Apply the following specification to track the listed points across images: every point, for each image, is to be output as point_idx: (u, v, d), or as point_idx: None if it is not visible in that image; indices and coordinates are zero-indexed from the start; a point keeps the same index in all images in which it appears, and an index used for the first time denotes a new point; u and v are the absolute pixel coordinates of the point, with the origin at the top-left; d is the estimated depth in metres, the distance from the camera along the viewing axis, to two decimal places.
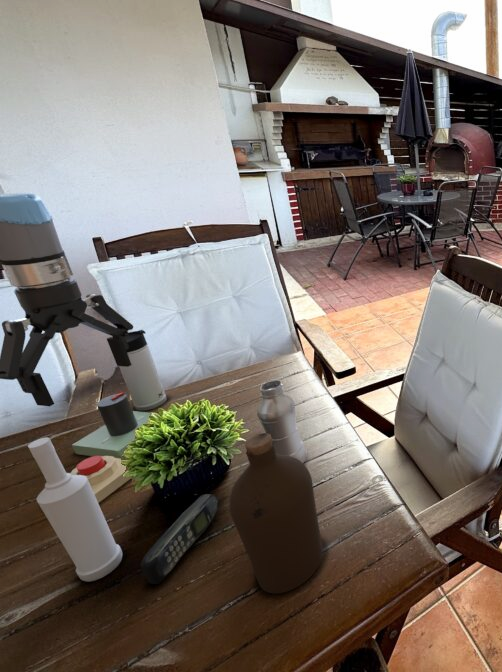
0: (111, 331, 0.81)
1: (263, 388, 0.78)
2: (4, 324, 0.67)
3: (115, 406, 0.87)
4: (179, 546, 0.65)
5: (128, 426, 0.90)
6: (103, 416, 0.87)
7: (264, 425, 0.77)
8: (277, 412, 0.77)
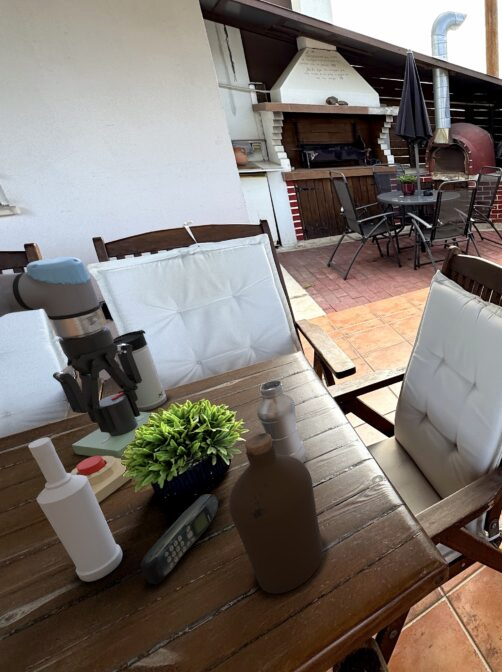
0: (125, 382, 0.90)
1: (263, 388, 0.78)
2: (55, 377, 0.79)
3: (115, 406, 0.87)
4: (179, 546, 0.65)
5: (128, 426, 0.90)
6: None
7: (264, 425, 0.77)
8: (277, 412, 0.77)
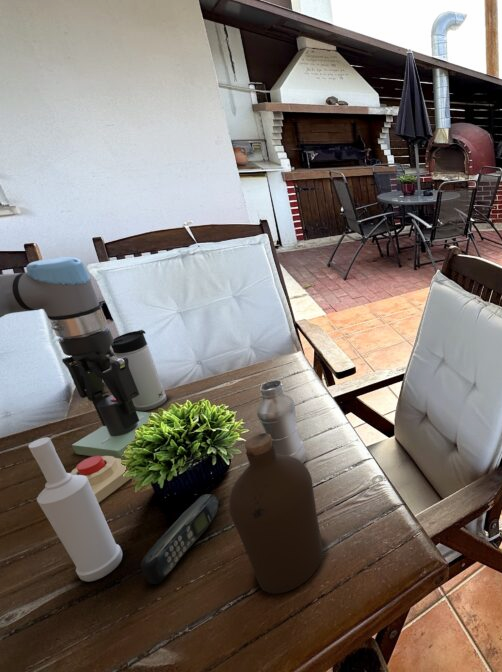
0: (112, 393, 0.86)
1: (263, 388, 0.78)
2: None
3: (98, 407, 0.87)
4: (179, 546, 0.65)
5: (109, 431, 0.89)
6: None
7: (264, 425, 0.77)
8: (277, 412, 0.77)
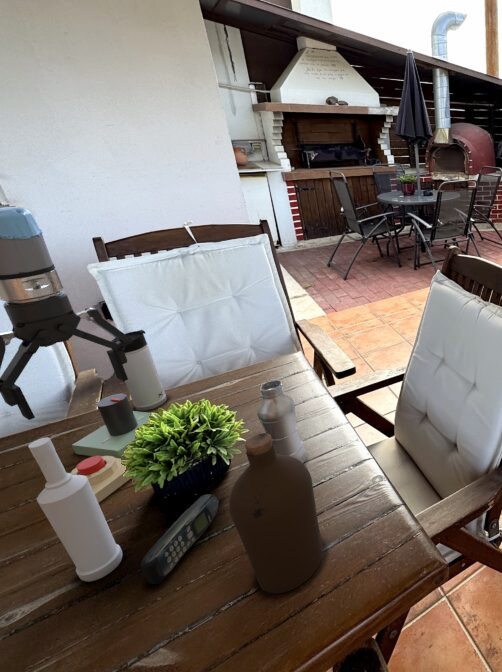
0: (106, 345, 0.80)
1: (263, 388, 0.78)
2: None
3: (98, 407, 0.87)
4: (179, 546, 0.65)
5: (109, 431, 0.89)
6: None
7: (264, 425, 0.77)
8: (277, 412, 0.77)
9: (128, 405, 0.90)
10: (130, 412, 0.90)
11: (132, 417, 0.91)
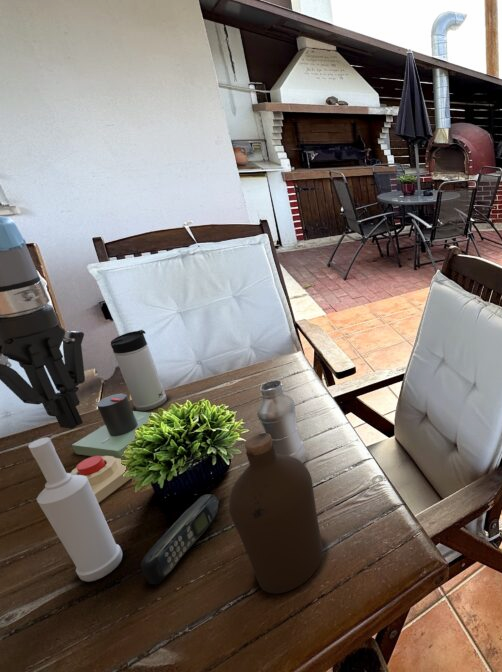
0: (64, 380, 0.72)
1: (263, 388, 0.78)
2: None
3: (98, 407, 0.87)
4: (179, 546, 0.65)
5: (109, 431, 0.89)
6: None
7: (264, 425, 0.77)
8: (277, 412, 0.77)
9: (128, 405, 0.90)
10: (130, 412, 0.90)
11: (132, 417, 0.91)
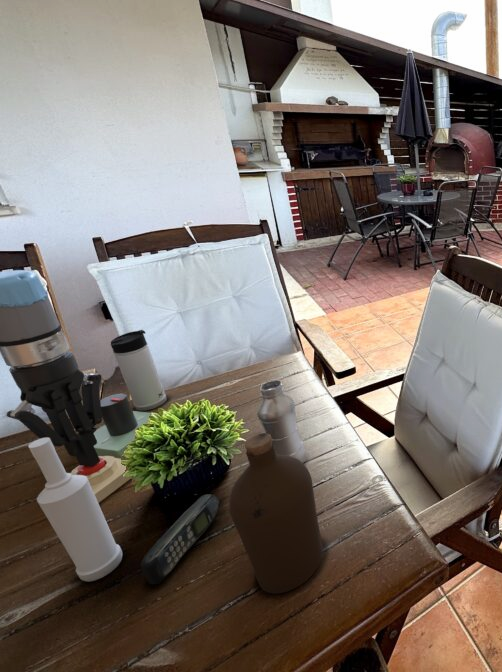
0: (82, 422, 0.76)
1: (263, 388, 0.78)
2: (10, 416, 0.67)
3: None
4: (179, 546, 0.65)
5: (109, 431, 0.89)
6: None
7: (264, 425, 0.77)
8: (277, 412, 0.77)
9: (128, 405, 0.90)
10: (130, 412, 0.90)
11: (132, 417, 0.91)
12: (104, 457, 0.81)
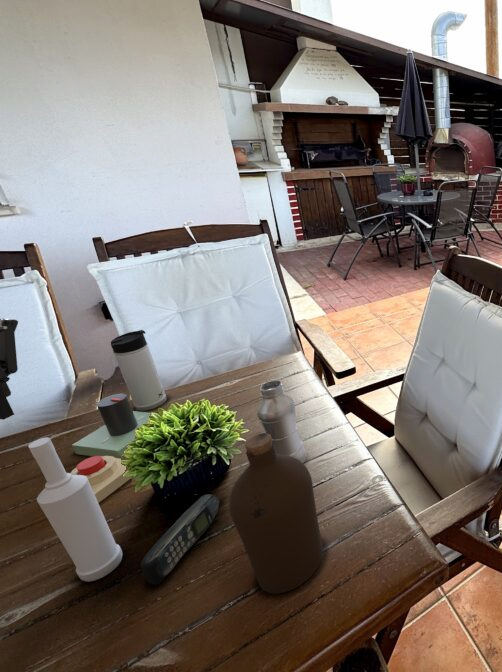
0: None
1: (263, 388, 0.78)
2: None
3: (98, 407, 0.87)
4: (179, 546, 0.65)
5: (109, 431, 0.89)
6: None
7: (264, 425, 0.77)
8: (277, 412, 0.77)
9: (128, 405, 0.90)
10: (130, 412, 0.90)
11: (132, 417, 0.91)
12: (104, 457, 0.81)
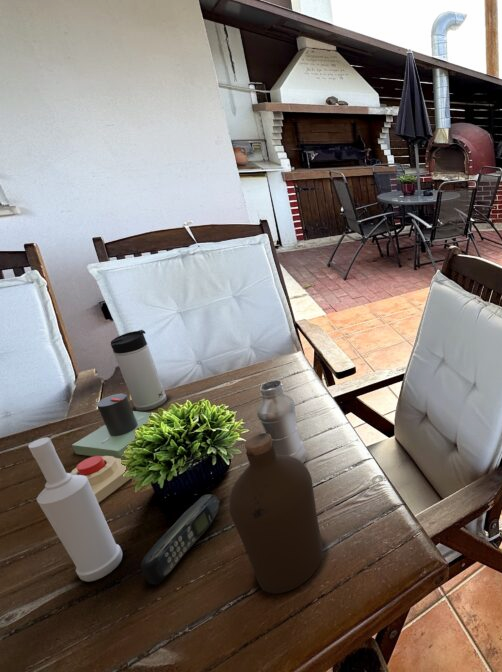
0: None
1: (263, 388, 0.78)
2: None
3: (98, 407, 0.87)
4: (179, 546, 0.65)
5: (109, 431, 0.89)
6: None
7: (264, 425, 0.77)
8: (277, 412, 0.77)
9: (128, 405, 0.90)
10: (130, 412, 0.90)
11: (132, 417, 0.91)
12: (104, 457, 0.81)
